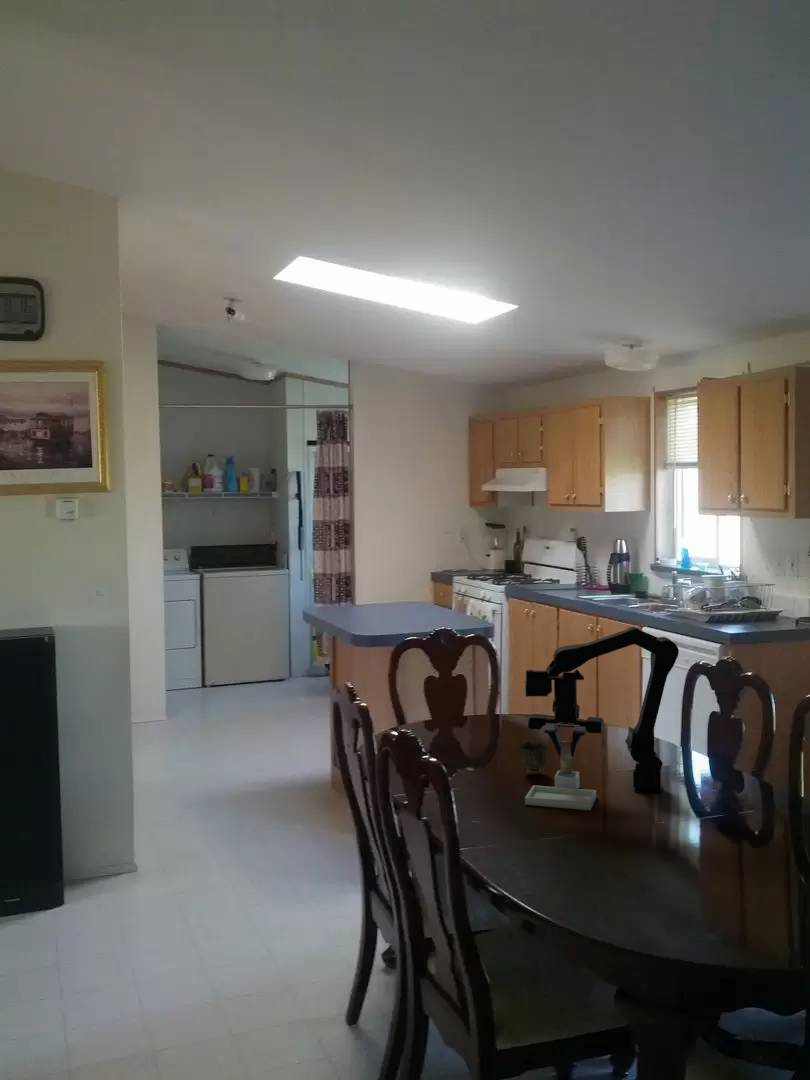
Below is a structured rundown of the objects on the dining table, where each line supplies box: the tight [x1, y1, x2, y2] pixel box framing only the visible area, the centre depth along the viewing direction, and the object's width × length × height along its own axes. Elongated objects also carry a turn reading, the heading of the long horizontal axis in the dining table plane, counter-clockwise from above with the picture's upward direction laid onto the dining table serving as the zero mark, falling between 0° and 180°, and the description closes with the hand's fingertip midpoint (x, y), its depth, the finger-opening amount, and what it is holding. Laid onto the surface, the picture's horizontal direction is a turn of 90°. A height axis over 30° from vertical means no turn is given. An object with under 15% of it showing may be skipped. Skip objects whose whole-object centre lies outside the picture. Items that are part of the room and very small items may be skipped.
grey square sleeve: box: [554, 769, 581, 789], centre depth 241 cm, size 6×6×4 cm
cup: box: [519, 741, 548, 776], centre depth 255 cm, size 8×7×8 cm
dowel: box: [559, 740, 573, 775], centre depth 240 cm, size 3×3×8 cm
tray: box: [524, 785, 597, 811], centre depth 232 cm, size 16×10×2 cm, turn 71°
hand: (566, 756), depth 240 cm, fingers closed on dowel, 3 cm apart
